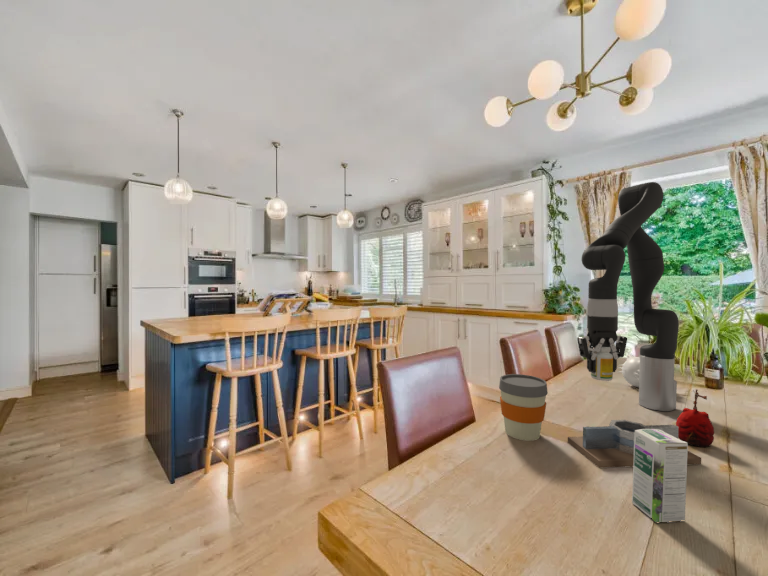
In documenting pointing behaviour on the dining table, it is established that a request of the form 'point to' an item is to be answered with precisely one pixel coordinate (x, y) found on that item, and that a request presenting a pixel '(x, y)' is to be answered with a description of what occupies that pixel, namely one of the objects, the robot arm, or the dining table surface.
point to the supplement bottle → (603, 365)
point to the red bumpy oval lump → (695, 426)
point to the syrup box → (659, 475)
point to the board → (614, 455)
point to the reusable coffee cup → (523, 405)
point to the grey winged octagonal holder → (619, 435)
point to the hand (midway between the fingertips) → (601, 371)
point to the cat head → (631, 370)
